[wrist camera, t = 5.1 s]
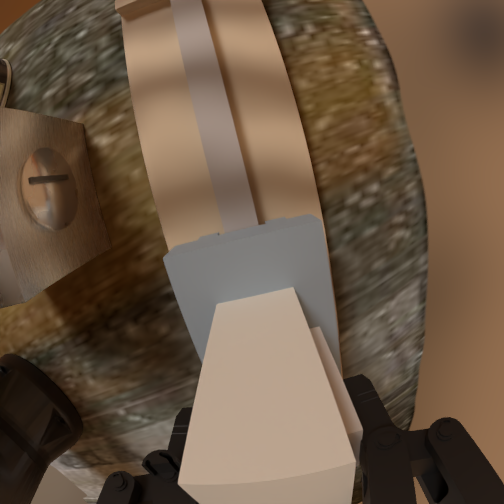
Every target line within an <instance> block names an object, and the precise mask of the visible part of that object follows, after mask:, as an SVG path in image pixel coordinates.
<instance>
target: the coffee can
mask: <svg viewBox="0 0 504 504" xmlns="http://www.w3.org/2000/svg"><path fill="white" fill-rule="evenodd" d="M11 74H12V73H11V66H10V63H9V62H8V61H7V60H5V59H0V107H5V104H6V101H7V98H8V94H9V90H10V85H11Z"/></svg>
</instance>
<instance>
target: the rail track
mask: <svg viewBox="0 0 504 504" xmlns="http://www.w3.org/2000/svg"><path fill="white" fill-rule="evenodd" d="M115 10H116V11H117V12H118V13H119V14H120V15H121V17H122V29H123V39H124V48H125V56H126V64H127V71H128V78H129V84H130V90H131V96H132V102H133V108H134V113H135V118H136V123H137V128H138V133H139V138H140V143H141V147H142V152H143V156H144V161H145V165H146V169H147V173H148V177H149V181H150V185H151V189H152V193H153V197H154V201H155V204H156V208H157V212H158V215H159V219H160V222H161V226H162V229H163V233H164V236H165V239H166V243H167V246H168V249H169V251H170V250H171V249H172V248H173V247H175V246H177V245H181V244H185V243H189V242H193V241H197V240H198V239H199V238H200V237H202V236H206V235H210V234H214V233H218V232H219V234H220V235H221V234H225V233H229V232H233V231H237V230H241V229H246V228H250V227H254V226H258V225H262V224H265V221H268V220H272V219H277V218H281V217H285V218H286V219H288V218H293V217H297V216H302V215H306V214H312V215H314V216H315V217H317V218H318V219H320V220H322V226H323V231H324V237H325V243H326V249H327V255H328V261H329V268H330V275H331V282H332V289H333V296H334V304H335V312H336V321H337V330H338V340H339V351H340V363H341V377H342V380H343V375H342V361H341V349H340V338H339V328H338V319H337V310H336V302H335V294H334V286H333V279H332V272H331V265H330V259H329V252H328V246H327V240H326V234H325V229H324V223H323V218H322V212H321V207H320V202H319V197H318V192H317V187H316V183H315V178H314V174H313V169H312V165H311V160H310V156H309V152H308V148H307V144H306V139H305V136H304V132H303V128H302V124H301V120H300V116H299V113H298V109H297V105H296V102H295V98H294V95H293V91H292V88H291V85H290V81H289V78H288V75H287V72H286V68H285V65H284V62H283V59H282V56H281V53H280V50H279V47H278V44H277V41H276V38H275V35H274V33H273V30H272V27H271V24H270V22H269V19H268V16H267V14H266V11H265V8H264V6H263V3H262V1H261V0H115Z"/></svg>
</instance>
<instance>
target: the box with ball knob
mask: <svg viewBox="0 0 504 504" xmlns="http://www.w3.org/2000/svg"><path fill="white" fill-rule="evenodd" d="M110 248H112V246H111V243H110V240H109V237H108V234H107V230H106V227H105V223H104V220H103V216H102V213H101V209H100V205H99V201H98V197H97V193H96V189H95V185H94V181H93V176H92V172H91V167H90V162H89V157H88V152H87V146H86V140H85V134H84V128H83V124H81V123H77V122H73V121H69V120H65V119H61V118H56V117H52V116H47V115H42V114H37V113H32V112H27V111H22V110H16V109H10V108H4V107H0V308H4V307H8V306H12V305H16V304H20V303H24V302H27V301H28V300H29V299H31V298H32V297H34V296H35V295H37V294H38V293H40V292H41V291H43V290H44V289H46V288H47V287H49V286H50V285H52V284H53V283H55V282H56V281H58V280H59V279H61V278H62V277H64V276H66V275H67V274H69V273H70V272H72V271H74V270H75V269H77V268H78V267H80V266H82V265H83V264H85V263H86V262H88V261H90V260H91V259H93V258H95V257H96V256H98V255H100V254H102V253H103V252H105V251H107V250H108V249H110Z"/></svg>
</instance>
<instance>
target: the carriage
mask: <svg viewBox="0 0 504 504" xmlns="http://www.w3.org/2000/svg"><path fill="white" fill-rule="evenodd" d="M163 261H164V264H165V267H166V270H167V273H168V276H169V279H170V282H171V285H172V288H173V290H174V293H175V296H176V299H177V302H178V304H179V307H180V310H181V312H182V315H183V318H184V320H185V323H186V325H187V328H188V331H189V333H190V336H191V338H192V341H193V343H194V346H195V348H196V350H197V353H198V355H199V358H200V360H201V362H202V369H201V373H200V378H199V382H198V387H197V391H196V396H195V401H194V405H193V410H192V414H191V419H190V424H189V429H188V433H187V438H186V443H185V448H184V453H183V458H182V463H181V468H180V473H179V478H178V485H179V486H180V487H181V488H182V489H183V490H185V491H186V492H187V493H188V494H189V495H190V496H191V497H192V498H194V499H195V500H196V501H197V502H198V503H199V504H351V500H352V493H353V485H354V476H355V466H356V460H355V457H354V454H353V451H352V448H351V445H350V442H349V439H348V436H347V433H346V430H345V427H344V424H343V421H342V418H341V415H340V412H339V410H338V407H337V404H336V401H335V398H334V395H333V392H332V390H331V387H330V384H329V381H328V378H327V376H326V373H325V370H324V367H323V365H322V362H321V359H320V356H319V354H318V351H317V348H316V346H315V343H314V340H313V337H312V335H311V332H310V329H311V328H315V327H320V329H321V331H322V333H323V336H324V338H325V340H326V343H327V345H328V347H329V349H330V352H331V354H332V356H333V359H334V361H335V363H336V366H337V368H338V370H339V373H340V375H341V363H340V351H339V340H338V330H337V321H336V312H335V304H334V296H333V289H332V282H331V275H330V268H329V261H328V255H327V249H326V243H325V237H324V231H323V226H322V220H320V219H318V218H317V217H315V216H314V215H312V214H306V215H302V216H297V217H293V218H288V219H286V218H285V217H281V218H277V219H272V220H268V221H265V224H262V225H258V226H254V227H250V228H246V229H241V230H237V231H233V232H229V233H225V234H221V235H220V234H219V232H218V233H214V234H210V235H206V236H202V237H200V238H199V239H198V240H197V241H193V242H189V243H185V244H181V245H177V246H175V247H173V248H172V249H171V250H170V251H169V252H168V253H167V254H166V255H165V256H164V257H163Z"/></svg>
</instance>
